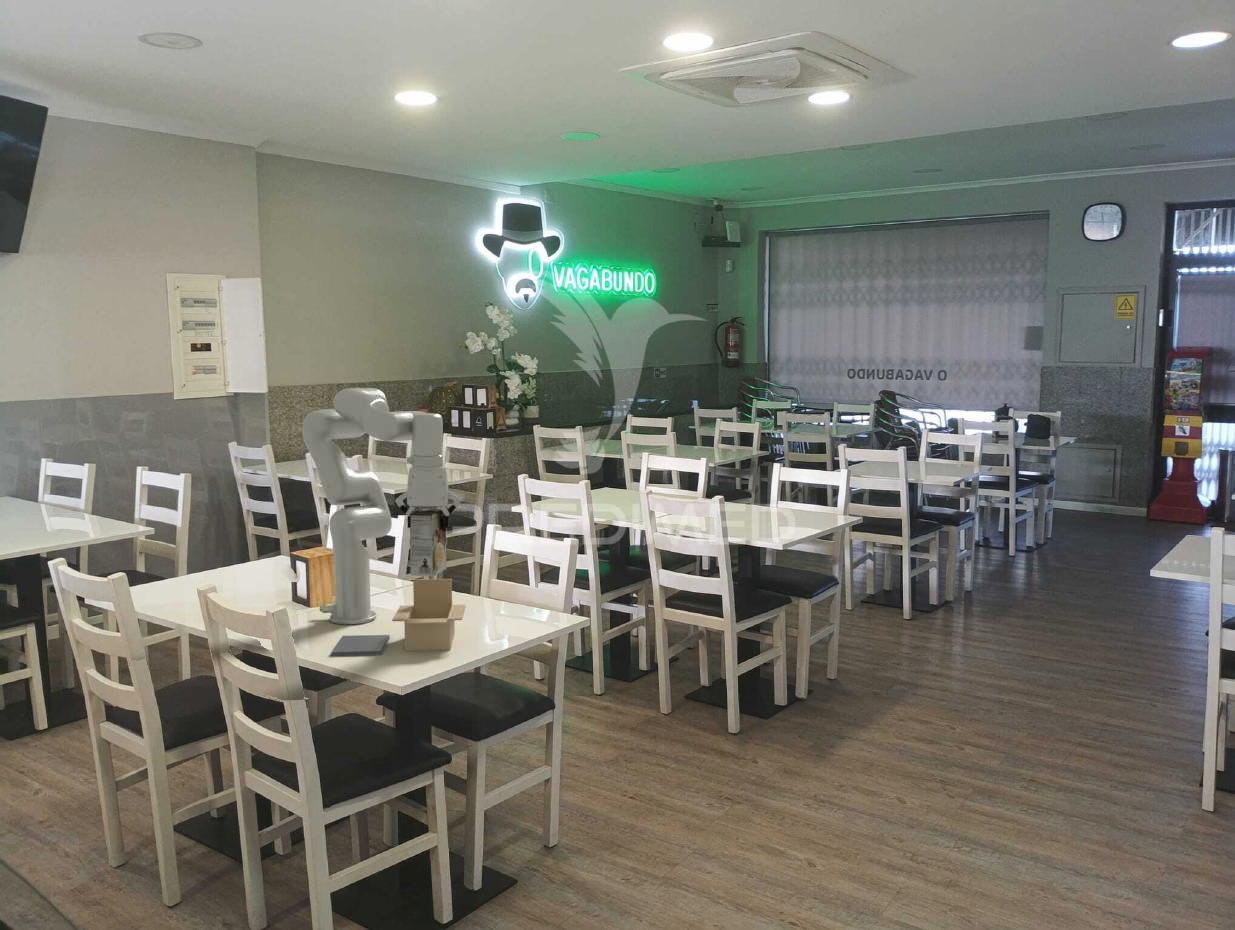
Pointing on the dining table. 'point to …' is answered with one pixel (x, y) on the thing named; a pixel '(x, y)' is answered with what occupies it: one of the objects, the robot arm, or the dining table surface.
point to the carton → (430, 616)
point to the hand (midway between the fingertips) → (428, 530)
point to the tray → (360, 645)
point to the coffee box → (427, 542)
